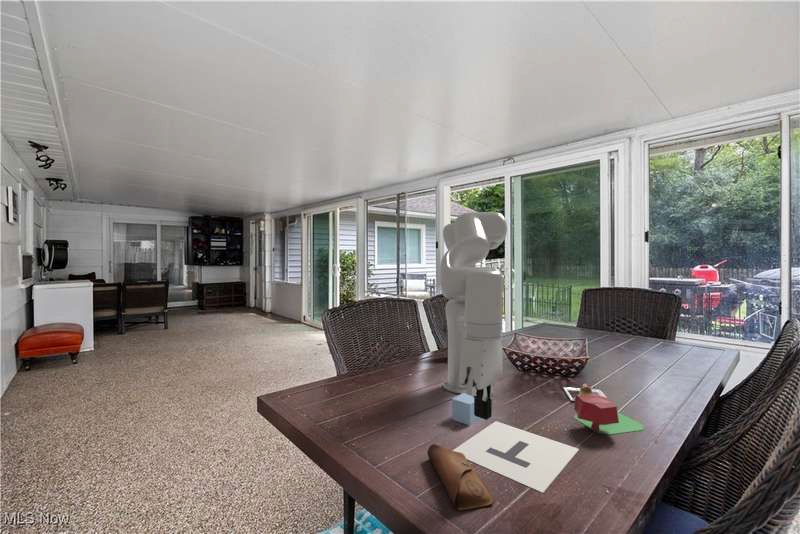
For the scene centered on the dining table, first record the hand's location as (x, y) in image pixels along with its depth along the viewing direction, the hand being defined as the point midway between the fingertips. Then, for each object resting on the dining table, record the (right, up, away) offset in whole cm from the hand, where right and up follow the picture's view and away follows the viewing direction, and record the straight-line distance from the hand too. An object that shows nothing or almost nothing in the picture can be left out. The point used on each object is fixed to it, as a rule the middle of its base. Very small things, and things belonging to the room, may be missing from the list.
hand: (482, 416), depth 76 cm
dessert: (+44, -12, +45) cm, 64 cm away
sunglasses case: (-5, -13, 0) cm, 14 cm away
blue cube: (+2, -12, +28) cm, 31 cm away
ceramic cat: (+12, -11, +89) cm, 91 cm away
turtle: (+39, -13, +25) cm, 48 cm away
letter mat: (+10, -13, +11) cm, 20 cm away
